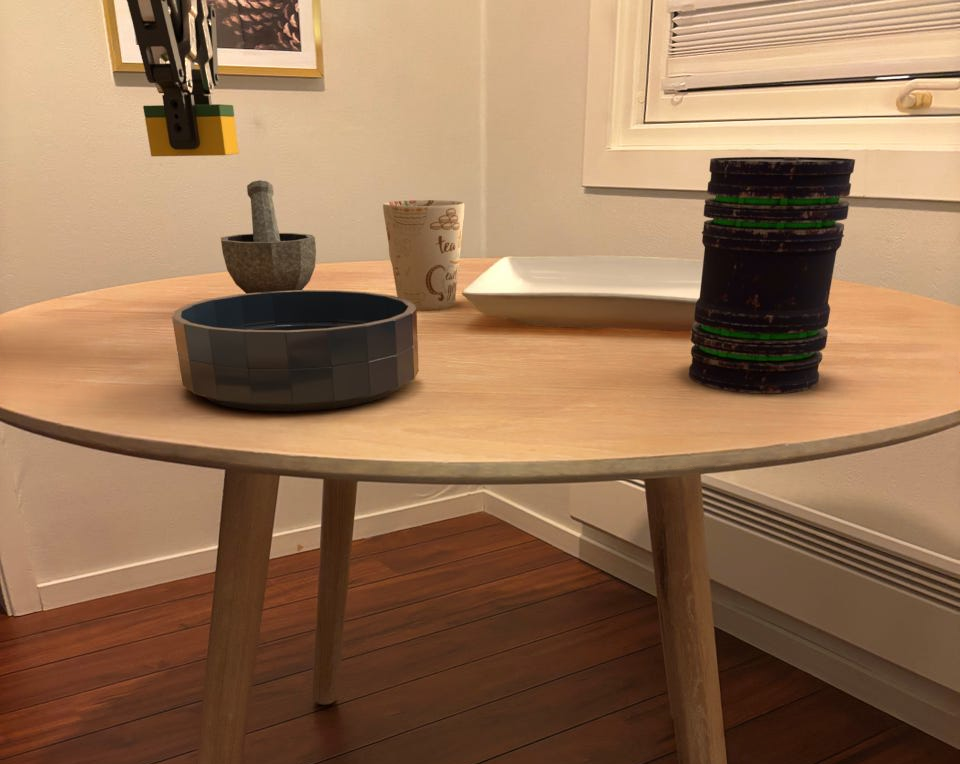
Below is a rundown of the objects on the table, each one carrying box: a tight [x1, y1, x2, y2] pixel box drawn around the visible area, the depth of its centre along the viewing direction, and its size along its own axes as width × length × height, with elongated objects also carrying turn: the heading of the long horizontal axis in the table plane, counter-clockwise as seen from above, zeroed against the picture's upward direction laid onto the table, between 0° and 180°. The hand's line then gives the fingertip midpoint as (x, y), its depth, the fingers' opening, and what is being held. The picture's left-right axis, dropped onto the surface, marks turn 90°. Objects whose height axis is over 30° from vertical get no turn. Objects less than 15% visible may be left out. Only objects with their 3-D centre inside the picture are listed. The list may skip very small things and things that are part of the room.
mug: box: [382, 199, 465, 311], centre depth 101 cm, size 8×13×10 cm, turn 33°
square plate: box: [461, 255, 704, 332], centre depth 97 cm, size 27×27×4 cm
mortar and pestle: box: [220, 179, 317, 294], centre depth 98 cm, size 11×9×12 cm
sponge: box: [142, 103, 240, 157], centre depth 75 cm, size 6×4×4 cm, turn 88°
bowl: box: [171, 289, 420, 412], centre depth 70 cm, size 17×17×6 cm
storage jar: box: [688, 156, 856, 394], centre depth 69 cm, size 10×10×15 cm
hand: (194, 147), depth 76 cm, fingers closed on sponge, 4 cm apart
